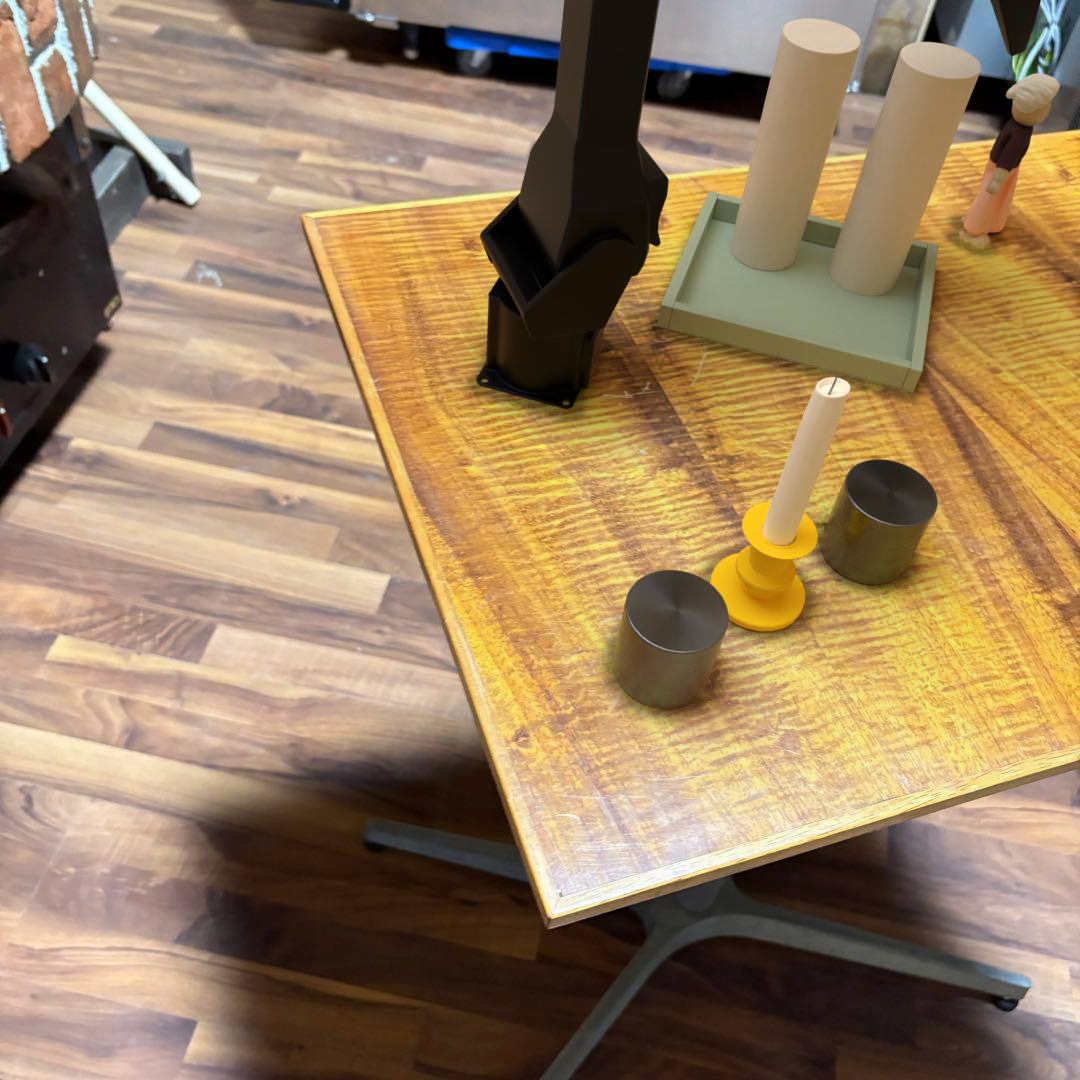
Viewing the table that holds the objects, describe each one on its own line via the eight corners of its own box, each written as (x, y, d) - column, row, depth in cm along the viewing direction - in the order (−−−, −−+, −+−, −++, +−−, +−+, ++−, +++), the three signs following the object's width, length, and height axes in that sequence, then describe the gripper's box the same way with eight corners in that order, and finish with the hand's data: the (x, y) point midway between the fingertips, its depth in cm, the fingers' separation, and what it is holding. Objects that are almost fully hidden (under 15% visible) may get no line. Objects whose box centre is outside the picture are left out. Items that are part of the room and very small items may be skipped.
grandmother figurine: (1003, 262, 79) (1080, 103, 70) (953, 254, 80) (1023, 94, 70) (994, 210, 84) (1065, 55, 75) (947, 202, 85) (1011, 47, 75)
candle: (698, 613, 55) (766, 396, 43) (721, 545, 58) (790, 326, 47) (793, 645, 54) (889, 431, 42) (810, 574, 57) (904, 357, 46)
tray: (655, 331, 71) (660, 304, 69) (703, 216, 81) (709, 190, 79) (910, 397, 68) (922, 371, 66) (927, 270, 78) (939, 244, 76)
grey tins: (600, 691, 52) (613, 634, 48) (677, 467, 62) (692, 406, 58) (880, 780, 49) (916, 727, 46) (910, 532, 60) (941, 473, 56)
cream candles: (723, 261, 76) (776, 42, 64) (736, 226, 79) (789, 11, 67) (892, 303, 74) (979, 85, 62) (898, 265, 77) (982, 51, 65)
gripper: (1429, -196, 47) (1288, 113, 59) (1147, -297, 58) (1079, -19, 70) (1213, -114, 46) (1117, 181, 59) (970, -233, 57) (933, 37, 70)
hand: (1061, 86), depth 64 cm, fingers open, 9 cm apart
